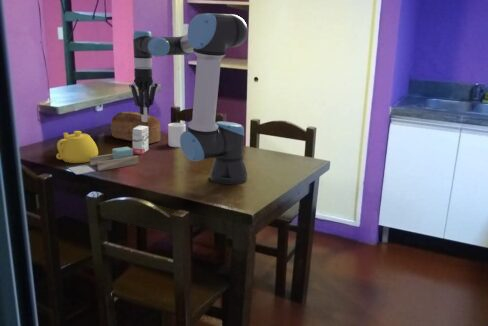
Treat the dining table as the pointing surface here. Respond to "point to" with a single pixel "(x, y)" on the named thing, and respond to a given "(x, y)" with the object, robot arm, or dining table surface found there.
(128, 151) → the block
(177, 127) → the mug
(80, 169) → the pad
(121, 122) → the bread
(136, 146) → the ink box
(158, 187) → the dining table surface
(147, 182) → the dining table surface
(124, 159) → the chute
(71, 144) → the teapot
